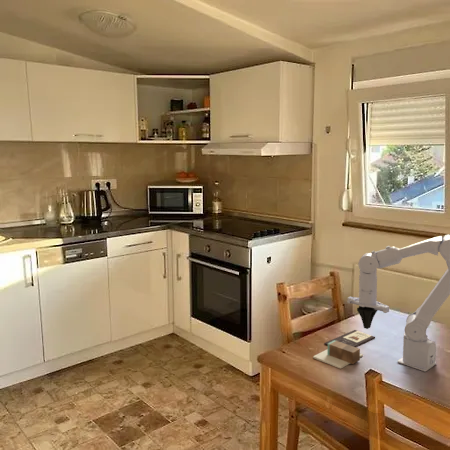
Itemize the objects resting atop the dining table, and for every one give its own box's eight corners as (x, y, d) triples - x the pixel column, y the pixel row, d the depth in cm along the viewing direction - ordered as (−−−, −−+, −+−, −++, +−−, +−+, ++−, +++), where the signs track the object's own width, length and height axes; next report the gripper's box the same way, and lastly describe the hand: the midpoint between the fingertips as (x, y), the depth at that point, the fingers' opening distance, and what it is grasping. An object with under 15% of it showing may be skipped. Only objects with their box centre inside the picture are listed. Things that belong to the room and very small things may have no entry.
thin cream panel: (362, 356, 155) (362, 354, 155) (340, 368, 147) (340, 367, 147) (335, 346, 164) (335, 344, 164) (313, 358, 155) (313, 356, 155)
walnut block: (359, 348, 151) (334, 340, 158) (353, 352, 148) (327, 343, 155) (359, 360, 151) (334, 350, 159) (353, 364, 149) (327, 354, 156)
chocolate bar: (324, 342, 166) (354, 329, 176) (324, 345, 166) (354, 332, 177) (344, 351, 159) (375, 336, 169) (344, 353, 159) (375, 339, 170)
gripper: (342, 287, 155) (342, 325, 157) (381, 296, 144) (380, 337, 146) (354, 282, 160) (353, 319, 162) (392, 291, 149) (391, 330, 151)
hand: (367, 327), depth 154 cm, fingers closed
